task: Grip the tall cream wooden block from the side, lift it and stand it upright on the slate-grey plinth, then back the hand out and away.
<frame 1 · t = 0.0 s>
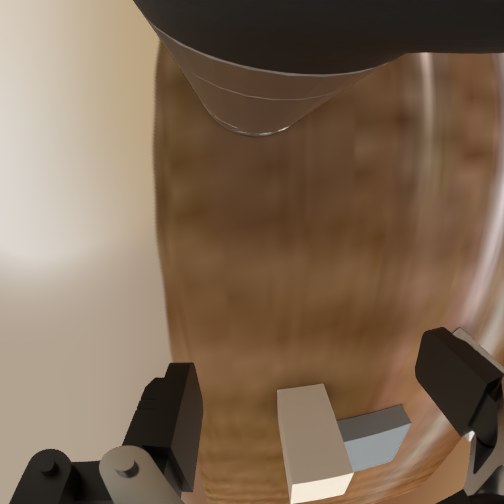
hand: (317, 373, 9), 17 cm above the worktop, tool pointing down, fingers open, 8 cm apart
cream block: (299, 401, 31), on the worktop
supplement box: (443, 356, 31), on the worktop
plinth: (361, 435, 35), on the worktop
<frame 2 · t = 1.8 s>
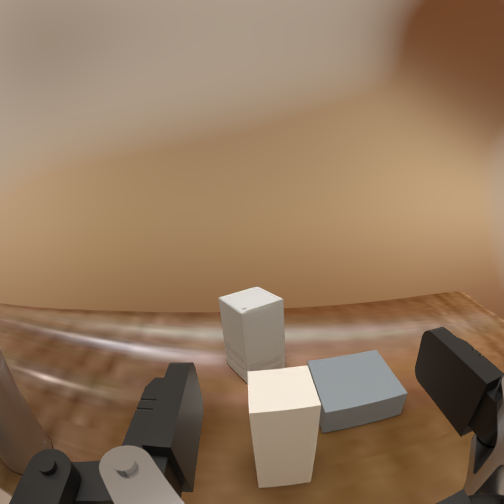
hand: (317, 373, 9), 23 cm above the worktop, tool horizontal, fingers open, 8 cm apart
cream block: (282, 467, 25), on the worktop
supplement box: (255, 367, 45), on the worktop
plinth: (351, 398, 35), on the worktop
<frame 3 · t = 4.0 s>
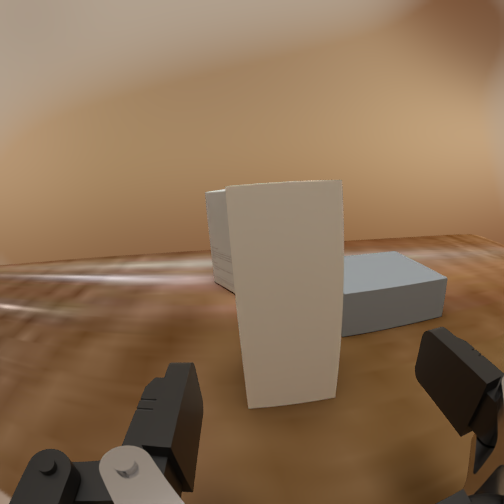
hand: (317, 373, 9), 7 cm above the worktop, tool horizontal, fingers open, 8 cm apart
cream block: (286, 378, 19), on the worktop
supplement box: (249, 283, 39), on the worktop
plinth: (373, 303, 29), on the worktop
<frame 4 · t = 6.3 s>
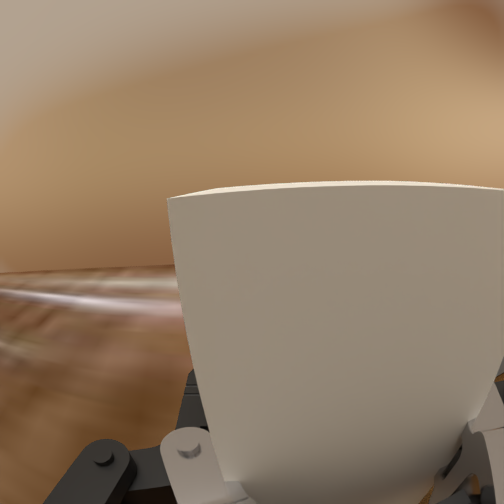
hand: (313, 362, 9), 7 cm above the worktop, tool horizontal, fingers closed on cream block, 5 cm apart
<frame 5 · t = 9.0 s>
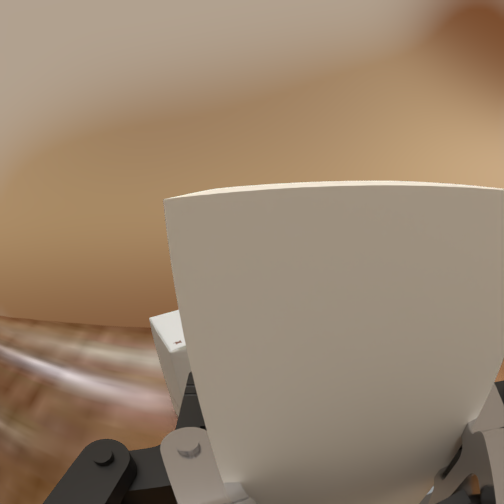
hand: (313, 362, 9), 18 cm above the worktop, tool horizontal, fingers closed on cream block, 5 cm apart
supplement box: (215, 419, 28), on the worktop
when the fingers open (12 cm above the worktop, at t = 11.7 s): cream block stays where it is, resting on plinth.
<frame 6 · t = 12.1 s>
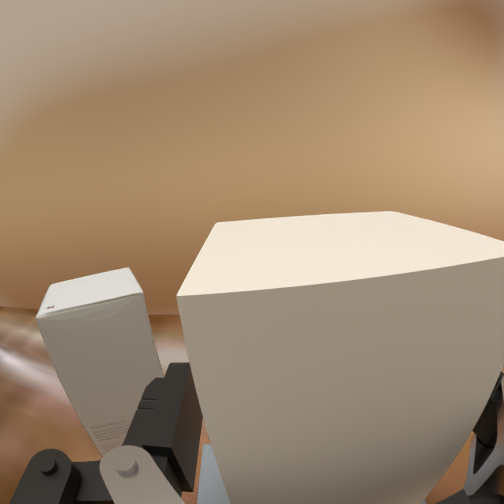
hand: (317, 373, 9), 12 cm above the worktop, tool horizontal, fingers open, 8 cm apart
supplement box: (134, 422, 20), on the worktop
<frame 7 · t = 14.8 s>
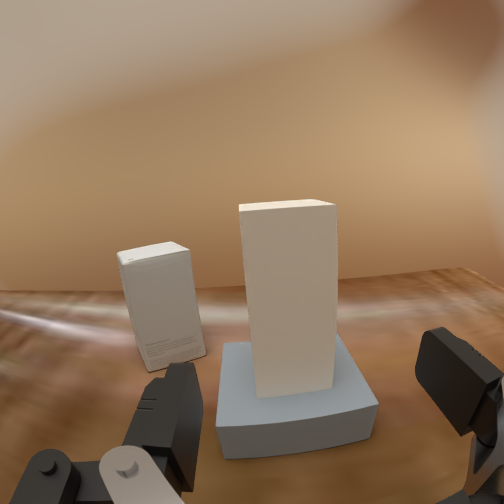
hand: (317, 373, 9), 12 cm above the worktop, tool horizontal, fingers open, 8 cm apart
cream block: (289, 372, 21), point 4 cm above the worktop, touching plinth
supplement box: (170, 351, 33), on the worktop
plinth: (289, 406, 22), on the worktop
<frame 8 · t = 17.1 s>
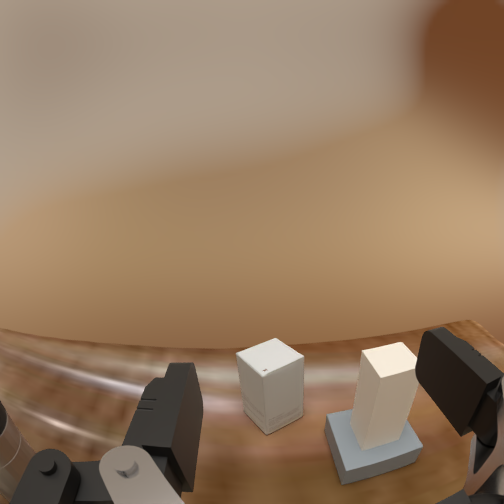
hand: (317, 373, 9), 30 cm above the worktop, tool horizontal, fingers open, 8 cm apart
cream block: (373, 431, 31), point 4 cm above the worktop, touching plinth
supplement box: (272, 415, 42), on the worktop
plinth: (368, 447, 32), on the worktop
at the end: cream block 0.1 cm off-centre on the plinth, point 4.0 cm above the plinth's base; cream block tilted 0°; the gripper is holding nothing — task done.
